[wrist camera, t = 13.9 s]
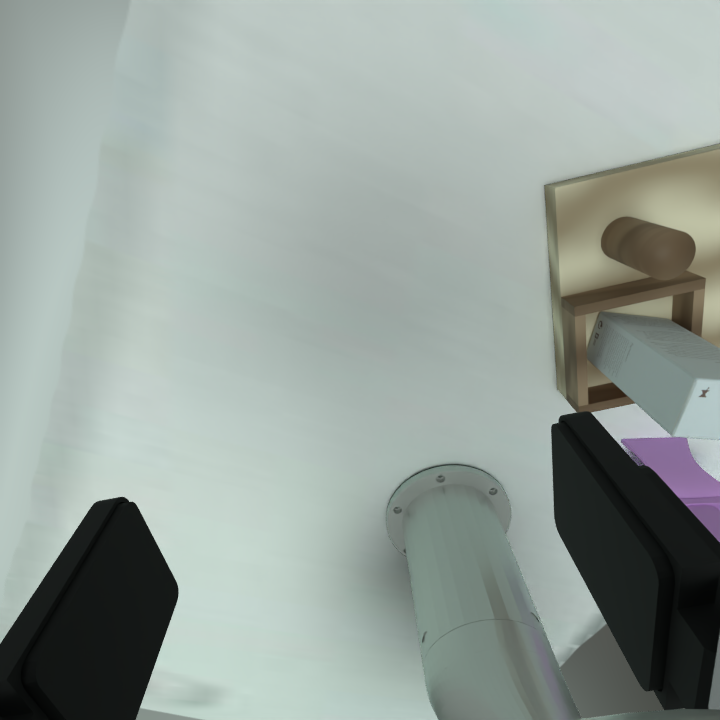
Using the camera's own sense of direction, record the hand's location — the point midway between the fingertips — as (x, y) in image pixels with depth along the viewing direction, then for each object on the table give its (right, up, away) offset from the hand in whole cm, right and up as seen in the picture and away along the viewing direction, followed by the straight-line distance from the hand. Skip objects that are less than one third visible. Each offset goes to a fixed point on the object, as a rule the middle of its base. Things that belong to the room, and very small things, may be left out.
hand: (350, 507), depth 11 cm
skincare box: (+22, +5, +30) cm, 37 cm away
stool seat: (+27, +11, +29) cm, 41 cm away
